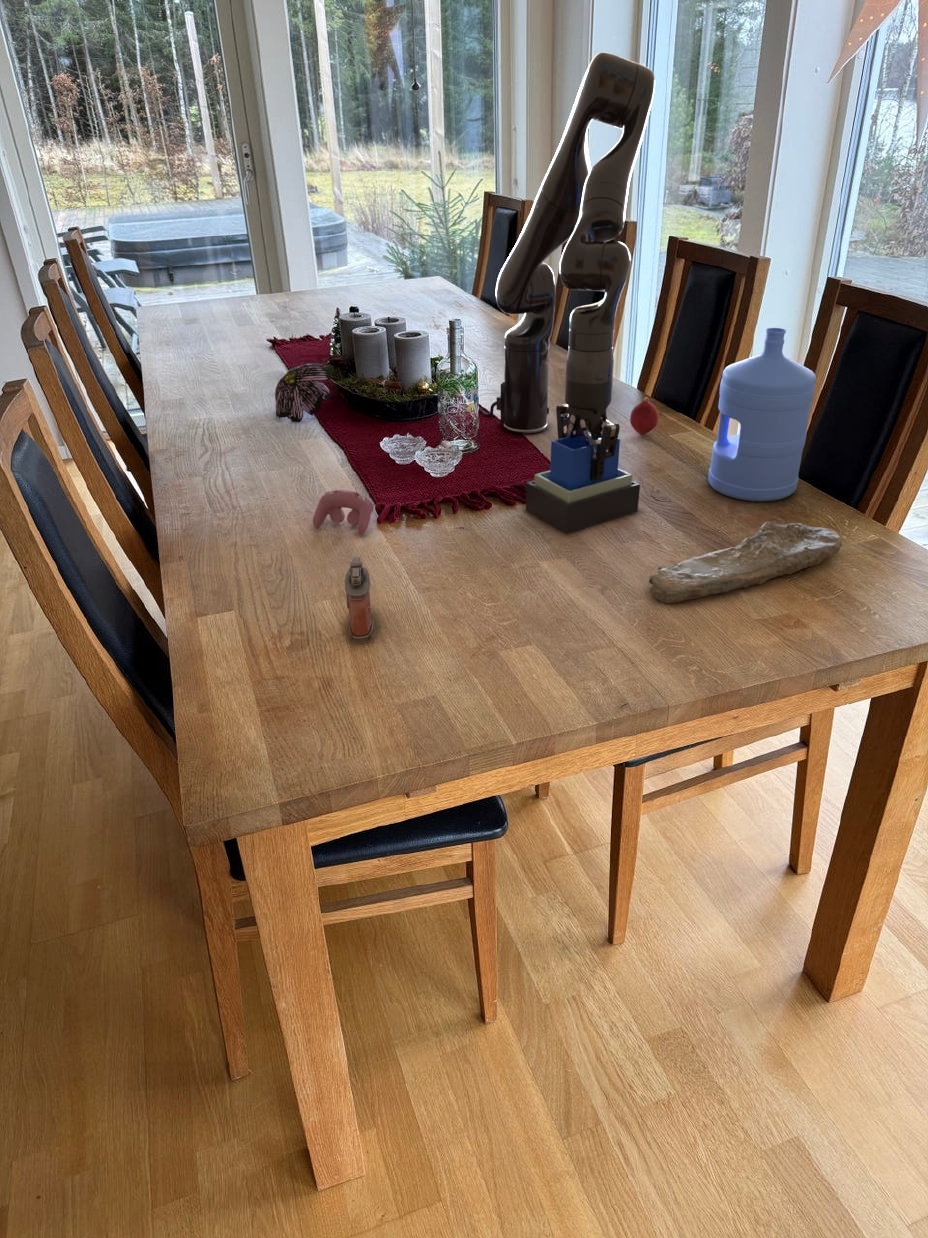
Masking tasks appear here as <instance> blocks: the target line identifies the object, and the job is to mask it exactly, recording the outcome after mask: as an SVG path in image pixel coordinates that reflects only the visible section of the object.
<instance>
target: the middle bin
mask: <svg viewBox="0 0 928 1238" xmlns="http://www.w3.org/2000/svg"><path fill="white" fill-rule="evenodd" d="M533 481H534V485H536V486H537V487H539V488H541V489H543V490H545V491H546V492H548V493H550V494H552V495H554V496H555V497H557V498H559V499H561V500H563V501H564V502H566V503H572V502H575V501H578V500H582V499H585V498H589V497H592V496H596V495H599V494H602V493H606V492H609V491H613V490H616V489H620V488H623V487H626V486H630V485H632V481H633V474H632V473H629V472H628V471H625V470H623V469H621V468H619V467H618V474H617V478H614V479H610V480H607V481H603V482H600V483H596V484H593V485H589V486H586V487H582V488H579V489H575V490H572V491H570V490H568V489H566V488H565V487H563V486H561V485H559V484H557V483H555V482H553V481H551V480H550V469H549V470H546V471H542V472H538V473H535V474H534V480H533Z"/></svg>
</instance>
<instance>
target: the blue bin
mask: <svg viewBox="0 0 928 1238" xmlns="http://www.w3.org/2000/svg"><path fill="white" fill-rule="evenodd" d="M592 439H593V440H597V439H599V435H598V436H597V437H594V438H592ZM620 445H621V438H620V437H618V439H617V445H616V450H615V455H614V456H613V457H610V458H606V459H605V461H604V475H603V477H602V478H601V479H599V480H595V481H593V480H591V479H590V468H591V459H592V458H591V446H587V445H586V442H585V438H584V437H583V436H578V437H574V438H571V439H570V438H569V437H565V438H561V439H558V438H556V439H554V440H551V443H550V469H549V470H550V480H551V481H553V482H555V483H557V484H559V485H561V486H563V487H565V488H566V489H568V490H570V491H572V490H575V489H579V488H582V487H586V486H589V485H593V484H596V483H600V482H603V481H607V480H610V479H614V478H617V474H618V468H619V458H620ZM608 448H609V446H608V447H607V450H608ZM596 449H597V452H598V451H599V449H600V444H597V445H596Z"/></svg>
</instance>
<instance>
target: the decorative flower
mask: <svg viewBox="0 0 928 1238" xmlns="http://www.w3.org/2000/svg"><path fill="white" fill-rule="evenodd" d="M330 374H331V372H330V371H328V369H327V368H326V367H325V366H324V364H323V363H317V362H310V363H309V362H308V363H305V364H302V365H297V366H294V367H291V369H289V370H287V372H286V373H285V374H284V375H283V376H282V377H281V378H280V379H279V381H278V382H277V384H276V386H275V391H274V399H275V400H274V401H275V416H276V418H278V419H280V420H281V419H283V418H287V419H289V420H290V422H291V423H301V422H302V420H303V418H304V411H305V412H306V413H307V414H308V415H310V416H313V415H314V414H315V412H318V411H319V410H318V409H320V408H321V407H320V406H321V405H322V402H324V401H329V400H330V398H331V397H332V392H331V390H330V388H329V387H328V386H327V385H326V384H325V383H324V382H326V381H331V380H332V378H331V376H330ZM322 381H323V382H322Z"/></svg>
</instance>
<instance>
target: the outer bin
mask: <svg viewBox="0 0 928 1238" xmlns="http://www.w3.org/2000/svg"><path fill="white" fill-rule="evenodd" d="M640 489H641V483H638V482H637V481H634V480H632V485H630V486H626V487H623V488H620V489H616V490H613V491H609V492H606V493H602V494H599V495H596V496H592V497H589V498H585V499H582V500H578V501H575V502H572V503H566V502H564V501H563V500H561V499H559V498H557V497H555V496H554V495H552V494H550V493H548V492H546V491H545V490H543V489H541V488H539V487H537V486H536V485H534V480H530V481H527V482H526V483H525V511H526V512H528V513H530V514H532V515H533V516H535V517H537V518H538V519H540V520H541V521H543V522H545V523H547V524H549V525H550V526H552V527H553V528H555V529H557V530H558V531H561V532H562V533H564V534H566V535H567V534H570V533H574V532H578V531H580V530H585V529H588V528H590V527H593V526H596V525H601V524H603V523H606V522H610V521H613V520H616V519H619V518H623V517H626V516H629V515H633V514H636V513H638V512H639V501H640V491H641V490H640Z"/></svg>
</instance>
